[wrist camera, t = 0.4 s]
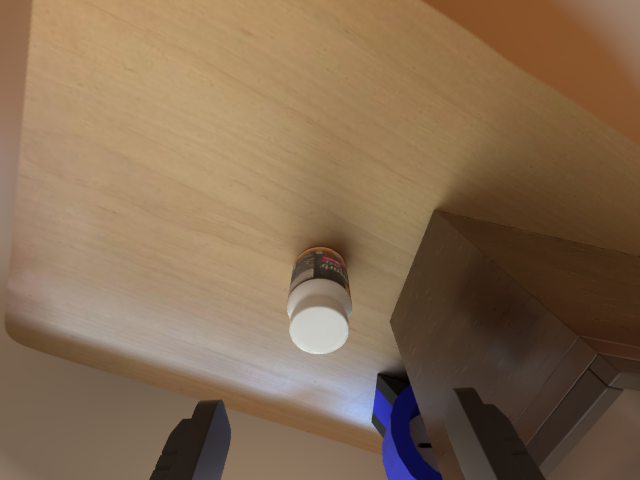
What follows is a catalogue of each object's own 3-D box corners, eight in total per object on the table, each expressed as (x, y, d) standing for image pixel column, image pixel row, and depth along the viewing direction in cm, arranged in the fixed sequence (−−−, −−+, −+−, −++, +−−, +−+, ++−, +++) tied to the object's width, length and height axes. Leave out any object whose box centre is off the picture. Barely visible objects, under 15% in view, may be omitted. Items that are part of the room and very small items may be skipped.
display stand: (389, 321, 35) (467, 553, 17) (433, 209, 30) (621, 372, 11) (643, 368, 38) (940, 606, 20) (725, 275, 33) (1235, 485, 15)
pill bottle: (356, 267, 32) (372, 330, 23) (320, 300, 34) (321, 370, 25) (318, 234, 31) (318, 286, 22) (281, 270, 32) (267, 333, 23)
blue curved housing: (474, 370, 38) (561, 516, 25) (455, 433, 43) (519, 585, 29) (378, 369, 38) (412, 515, 24) (370, 433, 43) (394, 585, 29)
